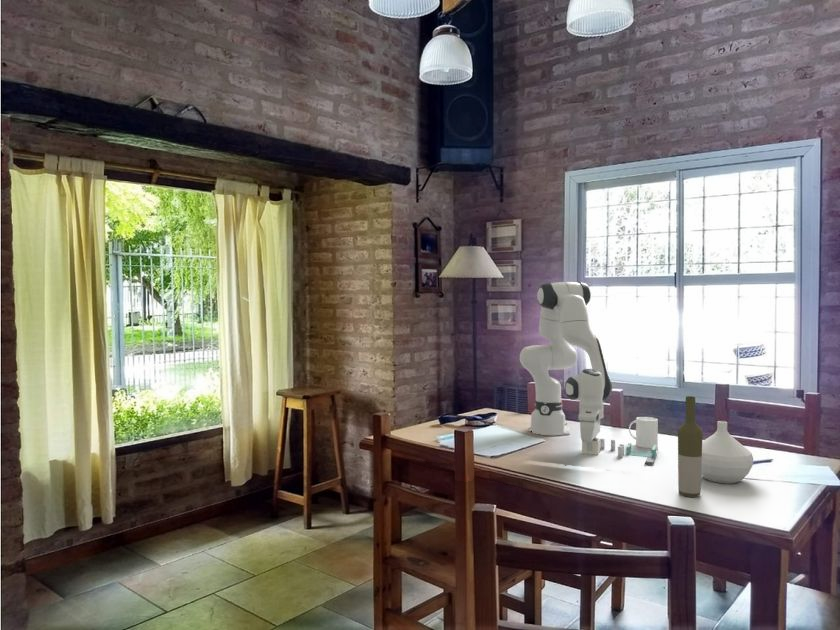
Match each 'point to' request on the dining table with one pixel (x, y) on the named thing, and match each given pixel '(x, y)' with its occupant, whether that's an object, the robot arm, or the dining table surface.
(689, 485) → the bottle
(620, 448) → the board
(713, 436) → the vase
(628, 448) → the end holder
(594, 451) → the box
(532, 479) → the dining table surface
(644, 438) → the mug
